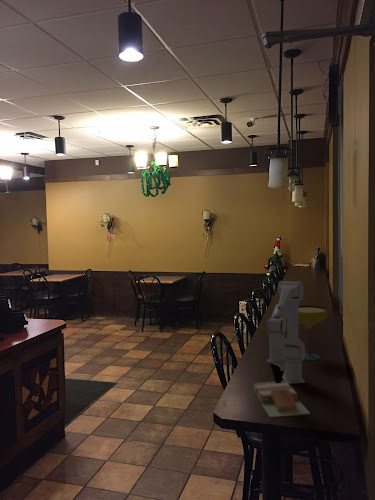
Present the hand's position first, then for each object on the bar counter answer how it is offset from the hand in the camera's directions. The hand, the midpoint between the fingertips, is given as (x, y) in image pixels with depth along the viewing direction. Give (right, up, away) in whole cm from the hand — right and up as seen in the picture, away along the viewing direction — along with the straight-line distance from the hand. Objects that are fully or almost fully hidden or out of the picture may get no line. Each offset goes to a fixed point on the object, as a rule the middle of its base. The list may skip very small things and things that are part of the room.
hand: (278, 382), depth 162 cm
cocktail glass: (+27, -4, +51) cm, 58 cm away
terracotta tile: (+1, -6, -5) cm, 8 cm away
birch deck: (0, -7, +6) cm, 9 cm away
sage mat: (+1, -8, -7) cm, 11 cm away
